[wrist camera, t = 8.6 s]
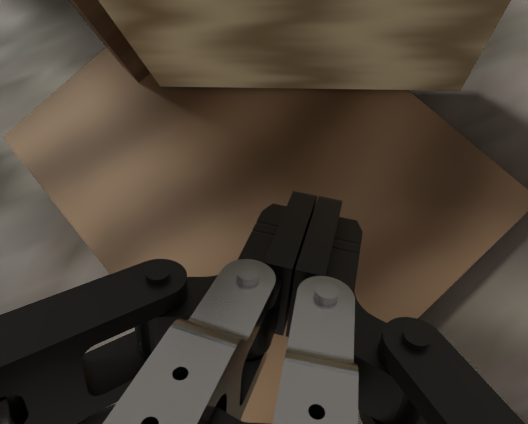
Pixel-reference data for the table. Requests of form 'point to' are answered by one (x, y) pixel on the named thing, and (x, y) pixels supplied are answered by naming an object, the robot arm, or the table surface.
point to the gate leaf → (308, 41)
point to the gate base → (262, 178)
